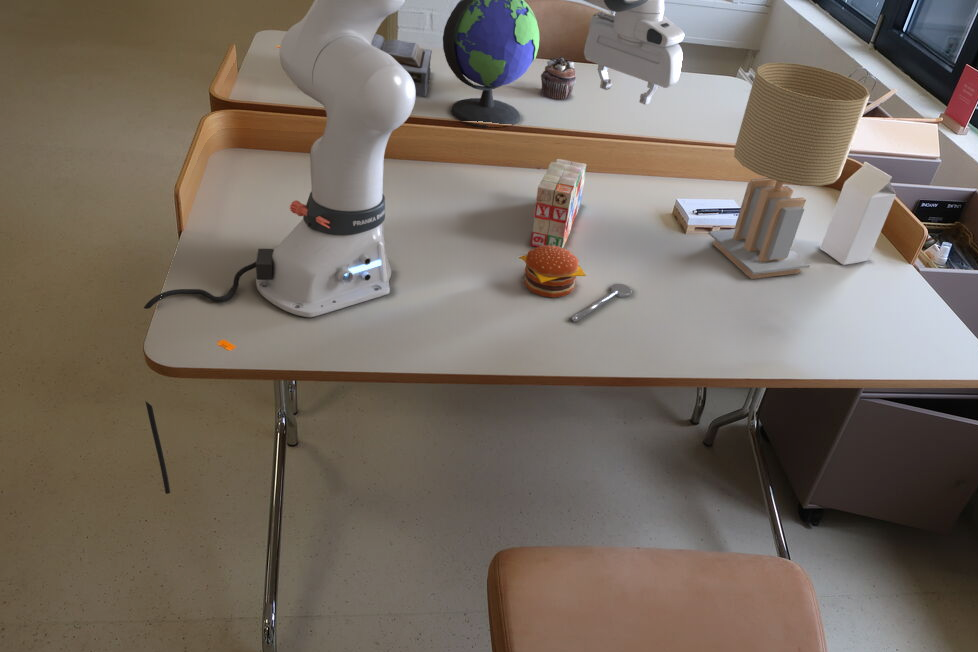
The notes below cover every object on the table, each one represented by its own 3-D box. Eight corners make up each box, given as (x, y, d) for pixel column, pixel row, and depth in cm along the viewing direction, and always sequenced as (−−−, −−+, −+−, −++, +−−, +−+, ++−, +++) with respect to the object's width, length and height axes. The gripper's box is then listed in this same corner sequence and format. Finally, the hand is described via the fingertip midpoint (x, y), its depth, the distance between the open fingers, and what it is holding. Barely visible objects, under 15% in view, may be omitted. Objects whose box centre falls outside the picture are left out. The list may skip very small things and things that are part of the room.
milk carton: (843, 266, 165) (878, 178, 154) (819, 248, 170) (851, 162, 159) (868, 261, 168) (904, 175, 157) (844, 244, 173) (877, 159, 162)
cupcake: (579, 96, 228) (585, 59, 222) (561, 104, 221) (567, 66, 215) (550, 86, 231) (555, 49, 225) (532, 93, 224) (536, 56, 218)
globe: (511, 139, 197) (526, 7, 179) (426, 117, 201) (432, -14, 183) (541, 111, 214) (557, -12, 196) (462, 92, 218) (471, -30, 200)
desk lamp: (688, 238, 166) (734, 62, 145) (766, 231, 174) (821, 62, 153) (742, 289, 152) (802, 103, 132) (825, 279, 160) (894, 100, 139)
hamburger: (557, 266, 151) (563, 234, 147) (584, 294, 144) (590, 261, 140) (512, 274, 146) (516, 241, 142) (537, 303, 140) (543, 269, 136)
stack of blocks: (551, 199, 173) (559, 143, 165) (580, 205, 172) (590, 150, 165) (529, 245, 156) (537, 185, 148) (561, 252, 155) (571, 192, 148)
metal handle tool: (581, 327, 136) (582, 322, 135) (563, 317, 137) (564, 312, 137) (634, 292, 147) (635, 287, 146) (618, 284, 148) (619, 279, 148)
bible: (348, 58, 228) (347, 21, 222) (443, 75, 227) (445, 38, 221) (317, 84, 209) (316, 44, 203) (421, 102, 208) (423, 63, 202)
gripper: (583, 11, 157) (573, 83, 165) (674, 40, 148) (659, 115, 156) (602, 6, 161) (591, 77, 169) (692, 35, 152) (676, 108, 160)
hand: (624, 95), depth 162 cm, fingers open, 8 cm apart
